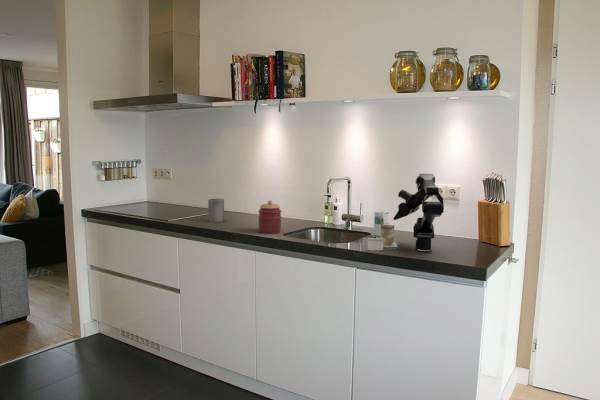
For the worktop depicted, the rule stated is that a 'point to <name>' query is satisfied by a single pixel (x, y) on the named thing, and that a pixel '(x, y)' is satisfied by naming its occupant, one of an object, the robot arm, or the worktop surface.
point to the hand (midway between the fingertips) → (396, 218)
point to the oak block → (387, 234)
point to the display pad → (391, 245)
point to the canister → (269, 218)
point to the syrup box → (380, 221)
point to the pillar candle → (216, 210)
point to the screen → (375, 244)
